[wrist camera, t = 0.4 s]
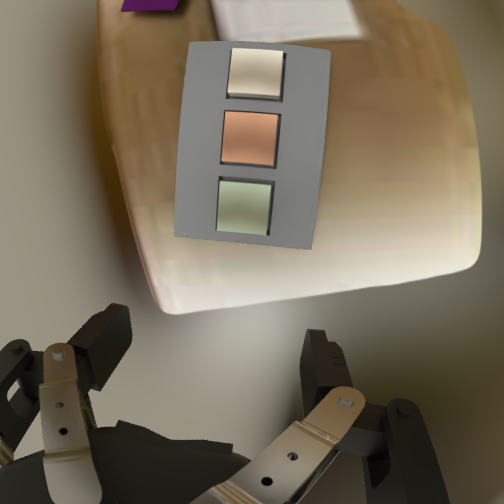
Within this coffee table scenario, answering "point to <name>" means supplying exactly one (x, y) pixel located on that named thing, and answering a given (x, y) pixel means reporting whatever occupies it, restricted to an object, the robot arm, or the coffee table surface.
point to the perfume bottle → (148, 5)
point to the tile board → (278, 175)
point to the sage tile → (243, 207)
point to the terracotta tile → (249, 137)
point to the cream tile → (255, 73)
